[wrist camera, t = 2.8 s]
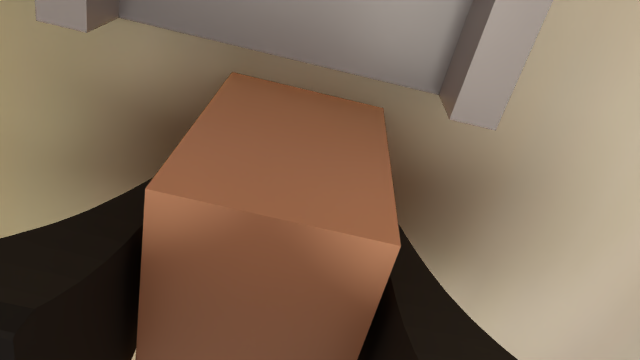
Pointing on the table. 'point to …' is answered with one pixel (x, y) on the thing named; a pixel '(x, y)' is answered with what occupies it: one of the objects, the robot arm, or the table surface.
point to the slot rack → (357, 38)
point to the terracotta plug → (268, 229)
